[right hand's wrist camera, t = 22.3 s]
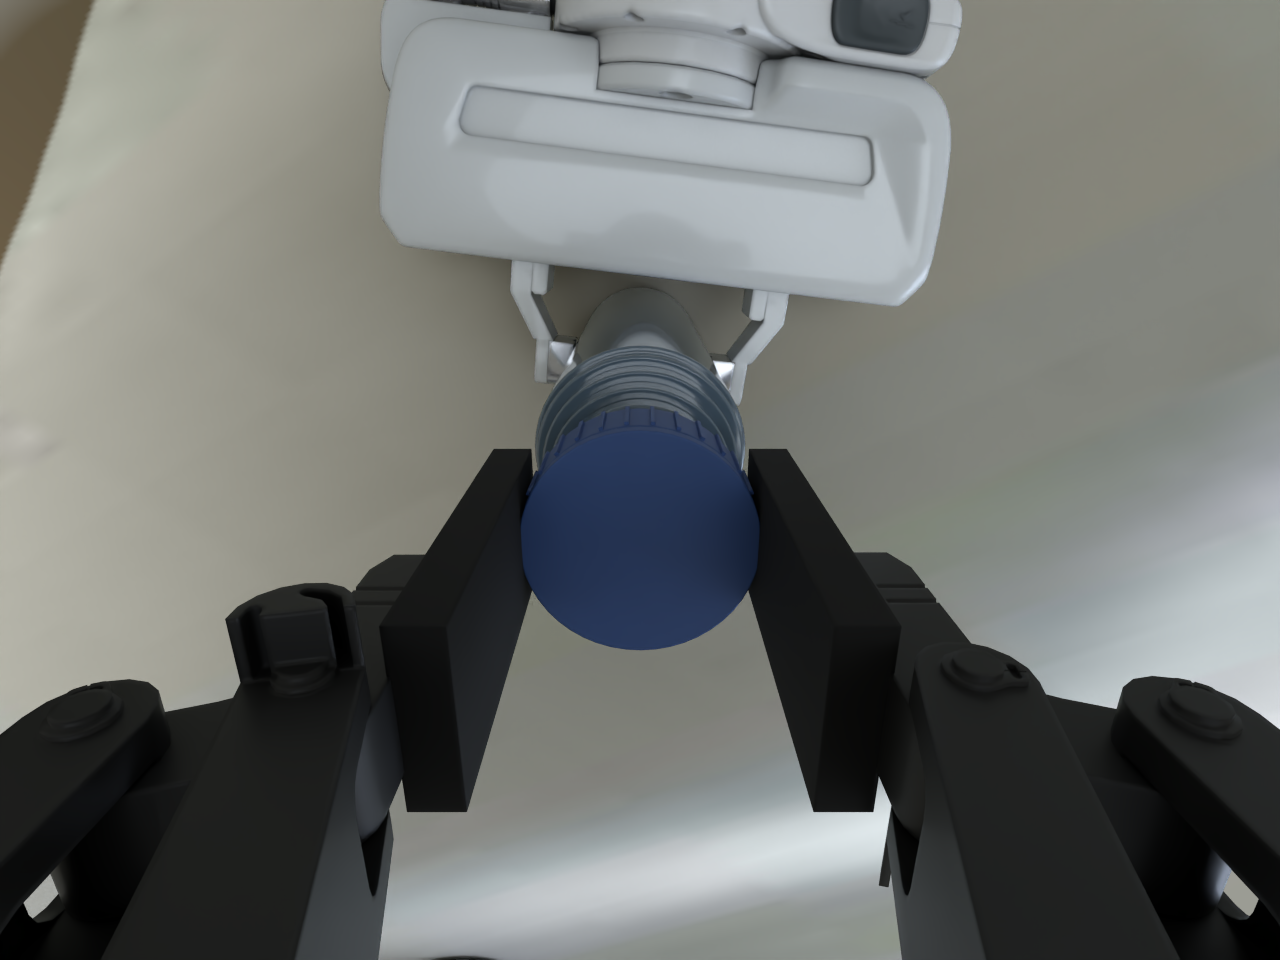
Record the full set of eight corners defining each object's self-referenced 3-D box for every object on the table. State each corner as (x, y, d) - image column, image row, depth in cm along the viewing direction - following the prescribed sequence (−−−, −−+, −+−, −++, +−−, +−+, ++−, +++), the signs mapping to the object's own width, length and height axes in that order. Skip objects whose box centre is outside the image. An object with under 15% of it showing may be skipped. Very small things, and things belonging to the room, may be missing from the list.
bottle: (683, 408, 35) (745, 673, 14) (575, 388, 35) (481, 630, 14) (707, 299, 33) (818, 423, 13) (594, 276, 33) (516, 366, 12)
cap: (492, 550, 15) (474, 588, 13) (595, 361, 13) (590, 379, 12) (678, 642, 15) (681, 688, 14) (794, 473, 14) (813, 504, 12)
